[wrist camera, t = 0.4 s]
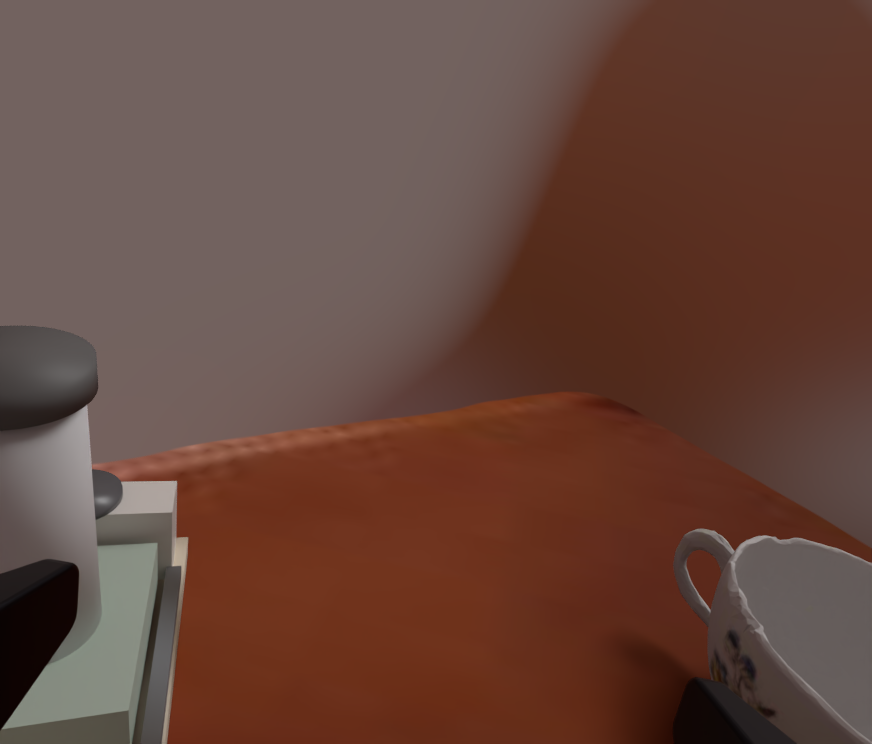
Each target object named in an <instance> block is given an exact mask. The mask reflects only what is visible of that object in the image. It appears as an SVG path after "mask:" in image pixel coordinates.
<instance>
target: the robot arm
mask: <svg viewBox="0 0 872 744" xmlns="http://www.w3.org/2000/svg"><path fill="white" fill-rule="evenodd" d="M78 591H79V569H78V567H77V565H75V564H74V563H71V562H66V561H60V560H55V559H44V560H40V561H37V562H34V563H31V564H28V565H25V566H22V567H19V568H16V569H13V570H10V571H7V572H4V573H1V574H0V731H1V729H2V728H3V727H4V725H5V724H6V722H7V721H8V720H9V718H10V717H11V715H12V714H13V713H14V711H15V710H16V708H17V707H18V705H19V704H20V703H21V701H22V700H23V698H24V697H25V695H26V694H27V693H28V691H29V690H30V688H31V687H32V685H33V684H34V683H35V681H36V680H37V678H38V677H39V675H40V674H41V673H42V671H43V670H44V668H45V667H46V665H47V664H48V663H49V661H50V660H51V658H52V657H53V655H54V654H55V652H56V651H57V650H58V648H59V647H60V645H61V644H62V642H63V641H64V640H65V638H66V637H67V635H68V634H69V632H70V631H71V629H72V627H73V625H74V623H75V620H76V616H77V610H78ZM673 739H674V744H797V743H796V742H795V741H793V740H792V739H791V738H790V737H788V736H787V735H786V734H785V733H783V732H782V731H781V730H780V729H779V728H777V727H776V726H775V725H774V724H772V723H771V722H770V721H769V720H767V719H766V718H765V717H764V716H762V715H761V714H760V713H759V712H758V711H756V710H755V709H754V708H753V707H751V706H750V705H749V704H748V703H746V702H745V701H744V700H743V699H741V698H740V697H739V696H738V695H736V694H735V693H734V692H733V691H732V690H730V689H729V688H728V687H727V686H725V685H724V684H723V683H721V682H718V681H714V680H708V679H703V678H697V677H695V678H692V679H690V680H689V681H688V683H687V685H686V687H685V690H684V693H683V696H682V699H681V702H680V705H679V708H678V710H677V713H676V716H675V719H674V723H673Z"/></svg>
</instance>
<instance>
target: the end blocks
mask: <svg viewBox="0 0 872 744" xmlns="http://www.w3.org/2000/svg"><path fill="white" fill-rule="evenodd" d="M92 480H93V493H94V507H95V521H96V535H97V546H106V545H125V544H144V543H158V580H163V579H165V574H166V568H167V567H170V566H173V564H174V556H175V549H176V514H177V481H149V482H121V481H120V480H119V479H118V478H117V477H116V476H115V475H113V474H111V473H109V472H105V471H101V470H92Z"/></svg>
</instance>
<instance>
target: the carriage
mask: <svg viewBox="0 0 872 744" xmlns="http://www.w3.org/2000/svg"><path fill="white" fill-rule="evenodd" d="M96 360H97V359H96V352H95V349H94V347H93V346H92V345H91V344H90V343H89V342H88V341H86V340H85V339H83V338H81V337H79V336H77V335H74V334H72V333H69V332H65V331H61V330H57V329H52V328H45V327H36V326H0V574H1V573H4V572H7V571H10V570H13V569H16V568H19V567H22V566H25V565H28V564H31V563H34V562H37V561H40V560H44V559H55V560H60V561H66V562H71V563H74V564H75V565H77V567H78V569H79V591H78V610H77V616H76V620H75V623H74V625H73V627H72V629H71V631H70V632H69V634H68V635H67V637H66V638H65V640H64V641H63V642H62V644H61V645H60V647H59V648H58V650H57V651H56V652H55V654H54V655H53V657H52V658H51V660H50V661H49V663H48V664H47V665H46V667H45V668H44V670H43V671H42V673H41V674H40V675H39V677H38V678H37V680H36V681H35V683H34V684H33V685H32V687H31V688H30V690H29V691H28V693H27V694H26V695H25V697H24V698H23V700H22V701H21V703H20V704H19V705H18V707H17V708H16V710H15V711H14V713H13V714H12V715H11V717H10V718H9V720H8V721H7V722H6V724H5V725H4V727H3V728H2V729H1V731H0V744H132V742H133V736H134V729H135V723H136V717H137V711H138V704H139V698H140V692H141V686H142V679H143V673H144V667H145V661H146V654H147V648H148V642H149V635H150V629H151V623H152V617H153V610H154V604H155V598H156V592H157V585H158V543H144V544H125V545H106V546H97V535H96V521H95V507H94V493H93V480H92V466H91V453H90V438H89V424H88V410H87V404H88V403H90V402H91V401H92V399H93V398H94V397H95V395H96V393H97V390H98V375H97V361H96Z"/></svg>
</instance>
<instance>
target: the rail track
mask: <svg viewBox="0 0 872 744" xmlns="http://www.w3.org/2000/svg"><path fill="white" fill-rule="evenodd" d="M187 556H188V537H184V538H176V549H175V556H174V564H173V566H170V567H167V568H166V574H165V579H163V580H158V585H157V592H156V598H155V604H154V610H153V617H152V623H151V629H150V635H149V642H148V648H147V654H146V661H145V667H144V673H143V679H142V686H141V692H140V698H139V704H138V711H137V717H136V723H135V729H134V736H133V742H132V744H167V738H168V728H169V719H170V710H171V701H172V692H173V683H174V674H175V665H176V656H177V647H178V638H179V629H180V620H181V610H182V601H183V592H184V583H185V574H186V565H187Z"/></svg>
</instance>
